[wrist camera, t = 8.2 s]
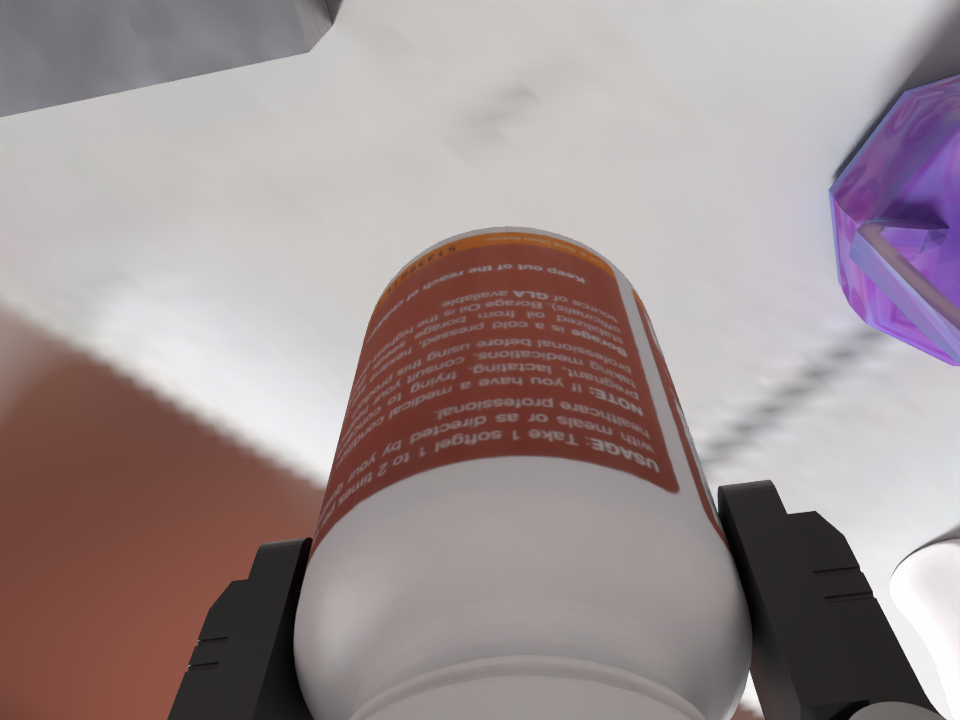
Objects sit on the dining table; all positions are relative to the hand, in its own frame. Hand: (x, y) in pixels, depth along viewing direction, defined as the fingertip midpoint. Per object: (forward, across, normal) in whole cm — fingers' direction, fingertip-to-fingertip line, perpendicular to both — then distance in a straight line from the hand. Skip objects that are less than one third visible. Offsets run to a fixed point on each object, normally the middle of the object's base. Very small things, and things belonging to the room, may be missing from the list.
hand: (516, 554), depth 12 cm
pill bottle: (+6, 0, 0) cm, 6 cm away
